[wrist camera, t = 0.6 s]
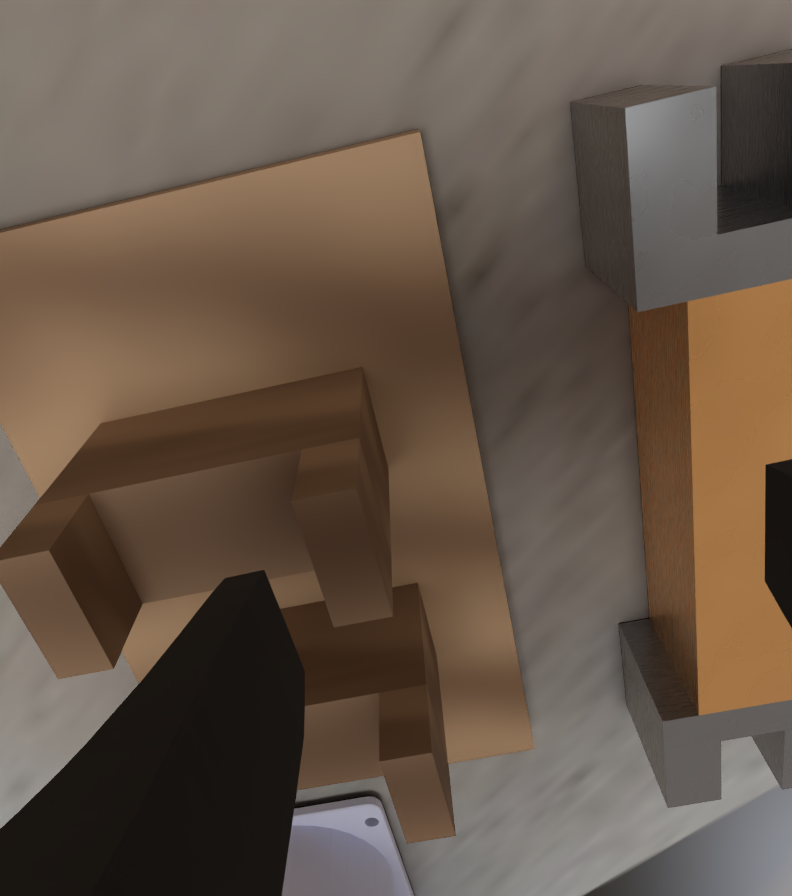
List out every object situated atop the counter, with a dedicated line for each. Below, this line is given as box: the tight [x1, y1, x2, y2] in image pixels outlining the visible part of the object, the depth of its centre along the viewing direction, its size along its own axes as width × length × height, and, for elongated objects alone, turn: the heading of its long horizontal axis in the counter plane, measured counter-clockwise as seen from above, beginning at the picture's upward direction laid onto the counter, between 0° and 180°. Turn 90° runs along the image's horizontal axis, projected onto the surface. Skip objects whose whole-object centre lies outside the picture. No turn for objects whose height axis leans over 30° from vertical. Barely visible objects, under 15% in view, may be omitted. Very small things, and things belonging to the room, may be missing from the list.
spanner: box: [570, 49, 792, 808], centre depth 19 cm, size 20×5×4 cm, turn 12°
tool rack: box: [0, 129, 535, 844], centre depth 18 cm, size 20×12×7 cm, turn 12°
